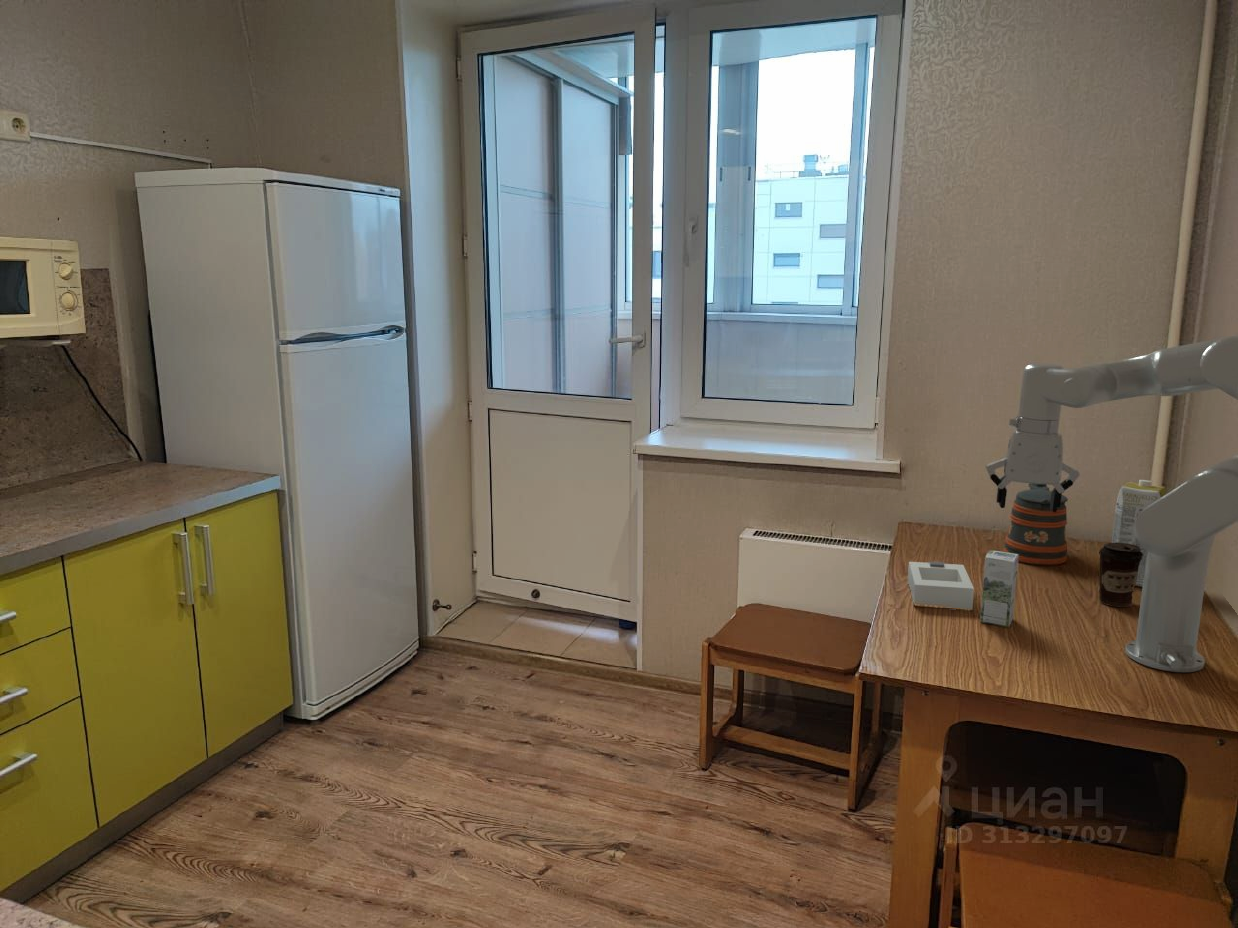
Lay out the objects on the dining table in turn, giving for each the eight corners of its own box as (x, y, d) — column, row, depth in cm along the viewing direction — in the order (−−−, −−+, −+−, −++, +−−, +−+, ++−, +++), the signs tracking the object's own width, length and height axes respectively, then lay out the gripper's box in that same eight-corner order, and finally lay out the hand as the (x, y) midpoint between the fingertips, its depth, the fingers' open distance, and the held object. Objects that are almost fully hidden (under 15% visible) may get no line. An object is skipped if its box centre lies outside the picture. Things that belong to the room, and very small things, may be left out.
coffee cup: (1144, 611, 185) (1151, 553, 182) (1101, 609, 187) (1107, 551, 184) (1129, 597, 193) (1135, 541, 191) (1088, 594, 195) (1094, 539, 192)
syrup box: (1013, 619, 182) (1019, 552, 179) (1008, 628, 177) (1014, 560, 174) (984, 613, 185) (989, 548, 182) (979, 622, 180) (984, 556, 177)
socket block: (972, 610, 187) (974, 585, 186) (913, 606, 189) (915, 582, 188) (961, 585, 202) (963, 562, 201) (907, 581, 205) (908, 559, 204)
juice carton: (1159, 581, 203) (1171, 481, 198) (1150, 590, 197) (1163, 487, 192) (1114, 572, 209) (1125, 475, 204) (1105, 580, 204) (1116, 481, 199)
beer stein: (997, 541, 235) (1003, 469, 230) (1057, 545, 231) (1064, 472, 226) (1007, 563, 217) (1014, 485, 213) (1072, 568, 213) (1080, 489, 209)
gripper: (993, 426, 172) (983, 509, 176) (1089, 432, 168) (1077, 517, 172) (988, 420, 179) (979, 500, 183) (1081, 425, 175) (1069, 507, 179)
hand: (1027, 508), depth 178 cm, fingers open, 9 cm apart
